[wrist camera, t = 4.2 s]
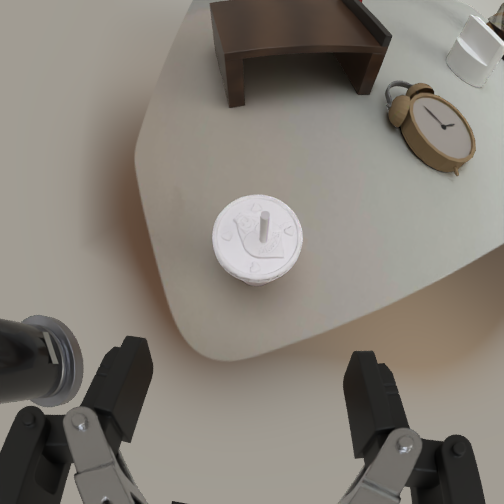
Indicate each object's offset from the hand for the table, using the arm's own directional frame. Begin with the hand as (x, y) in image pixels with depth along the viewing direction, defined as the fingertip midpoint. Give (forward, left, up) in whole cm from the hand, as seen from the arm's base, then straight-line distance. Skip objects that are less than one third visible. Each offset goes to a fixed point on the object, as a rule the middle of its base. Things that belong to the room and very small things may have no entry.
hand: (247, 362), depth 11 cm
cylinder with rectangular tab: (+50, +37, -18) cm, 65 cm away
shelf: (+13, +36, -18) cm, 42 cm away
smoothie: (+2, +8, -18) cm, 20 cm away
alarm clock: (+29, +22, -18) cm, 41 cm away
